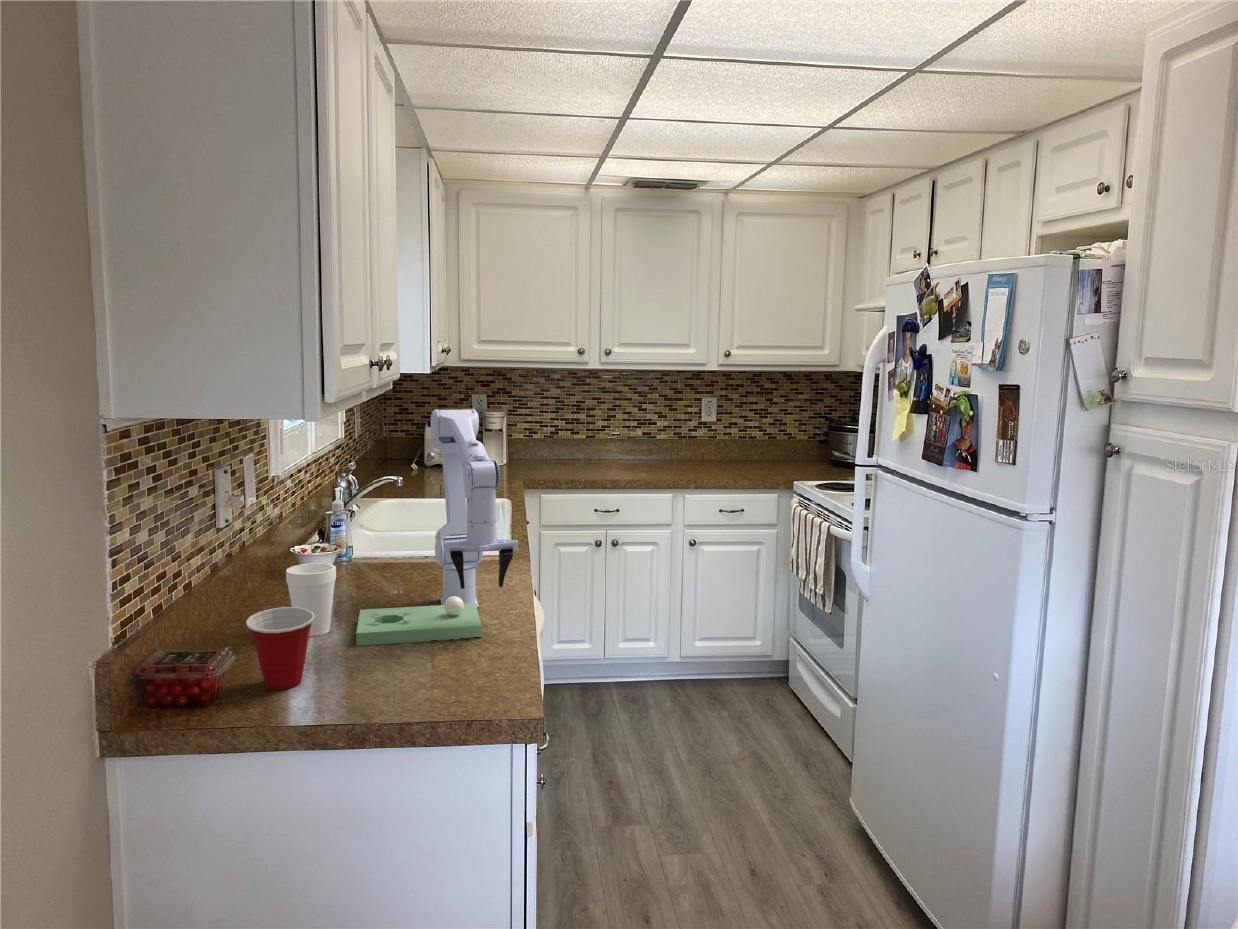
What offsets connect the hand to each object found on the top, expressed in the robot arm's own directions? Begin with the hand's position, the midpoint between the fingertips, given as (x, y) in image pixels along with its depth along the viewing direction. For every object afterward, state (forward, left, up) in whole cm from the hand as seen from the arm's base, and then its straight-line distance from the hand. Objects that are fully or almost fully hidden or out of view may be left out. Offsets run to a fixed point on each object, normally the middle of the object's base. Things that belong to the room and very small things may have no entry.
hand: (481, 586), depth 176 cm
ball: (-4, -5, -5) cm, 9 cm away
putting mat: (-4, -12, -10) cm, 16 cm away
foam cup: (-7, -33, -10) cm, 36 cm away
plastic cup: (+22, -35, -10) cm, 43 cm away
